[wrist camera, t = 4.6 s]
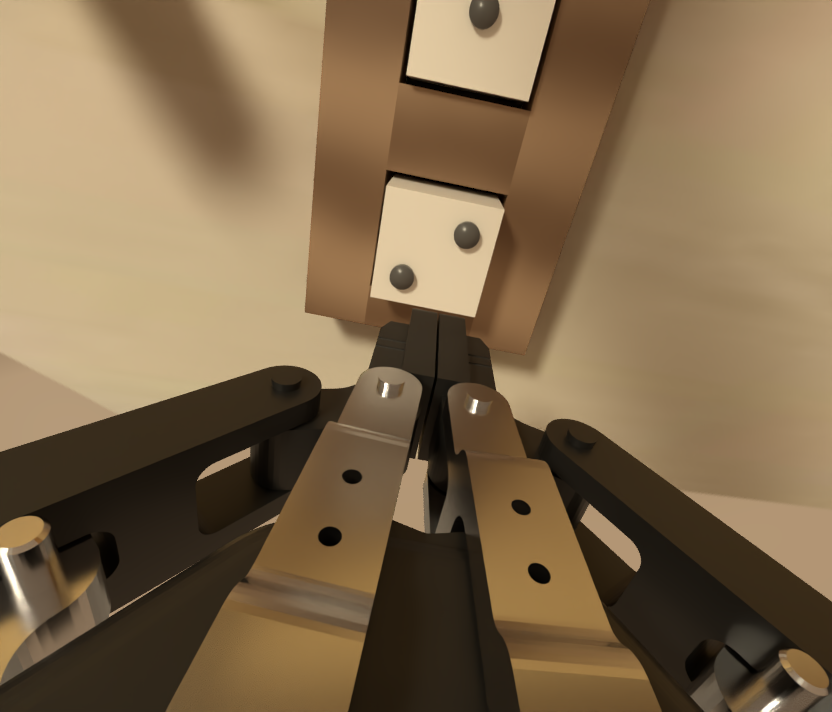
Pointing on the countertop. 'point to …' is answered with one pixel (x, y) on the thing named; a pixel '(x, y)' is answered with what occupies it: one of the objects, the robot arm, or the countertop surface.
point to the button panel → (458, 155)
